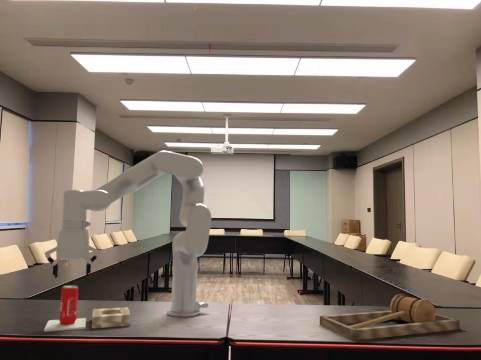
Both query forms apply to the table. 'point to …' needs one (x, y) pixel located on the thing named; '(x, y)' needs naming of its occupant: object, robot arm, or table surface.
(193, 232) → the robot arm
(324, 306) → the table surface
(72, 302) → the beverage can
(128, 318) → the can holder
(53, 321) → the coaster board
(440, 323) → the gavel rest frame
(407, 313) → the mallet
